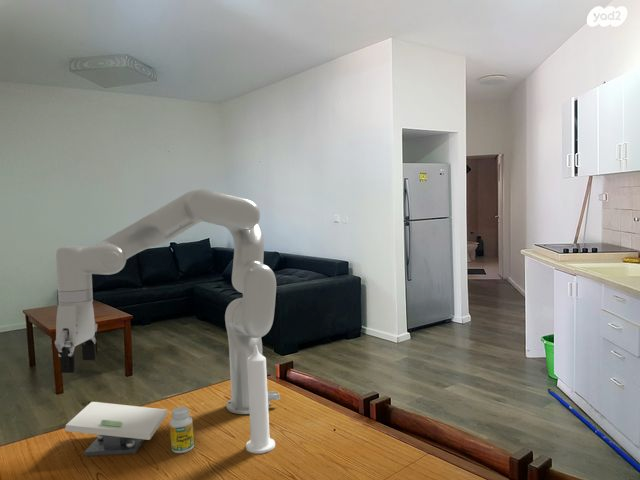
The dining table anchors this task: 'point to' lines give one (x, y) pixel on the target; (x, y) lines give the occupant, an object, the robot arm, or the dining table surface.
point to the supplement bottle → (181, 430)
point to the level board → (117, 420)
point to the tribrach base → (113, 445)
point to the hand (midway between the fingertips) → (79, 365)
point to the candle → (258, 405)
